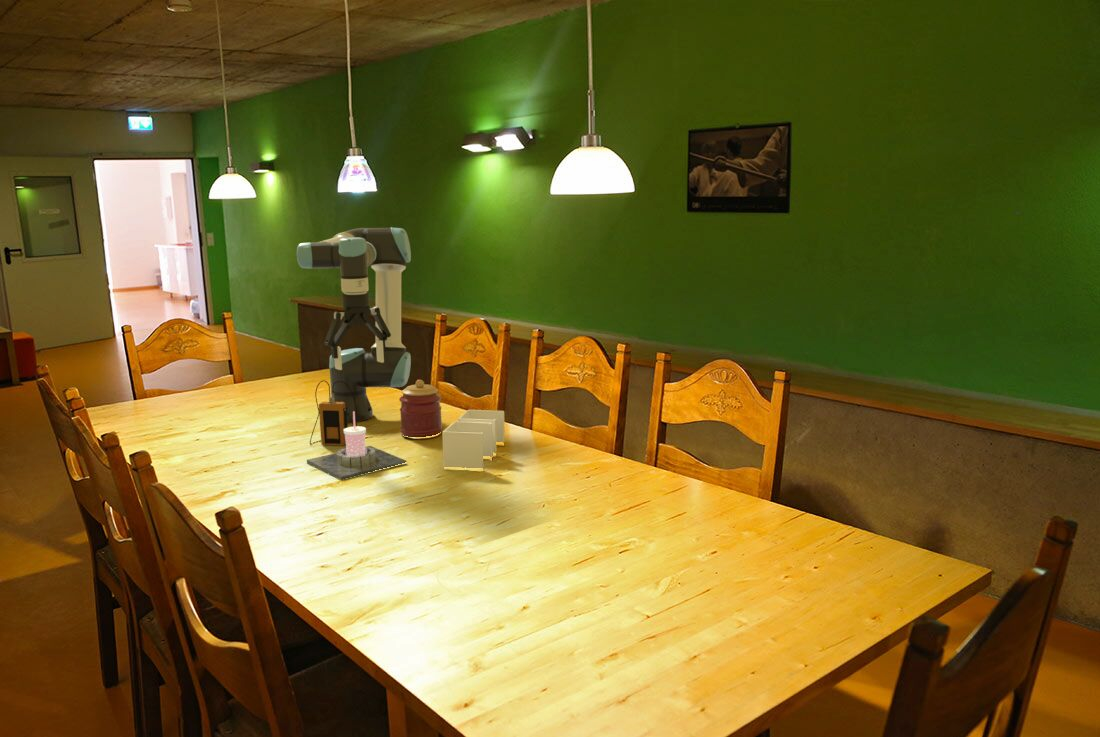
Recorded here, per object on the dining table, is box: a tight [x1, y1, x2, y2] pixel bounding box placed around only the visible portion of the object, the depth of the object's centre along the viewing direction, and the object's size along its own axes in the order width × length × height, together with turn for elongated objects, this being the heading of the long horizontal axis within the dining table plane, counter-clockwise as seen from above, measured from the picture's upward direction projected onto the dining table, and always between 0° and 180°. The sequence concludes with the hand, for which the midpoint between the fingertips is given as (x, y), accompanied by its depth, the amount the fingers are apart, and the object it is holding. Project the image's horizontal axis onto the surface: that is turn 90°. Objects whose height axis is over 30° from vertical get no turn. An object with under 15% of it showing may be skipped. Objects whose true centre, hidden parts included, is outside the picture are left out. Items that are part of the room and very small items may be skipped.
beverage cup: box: [343, 411, 367, 456], centre depth 229 cm, size 6×6×14 cm
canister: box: [399, 379, 443, 437], centre depth 258 cm, size 13×13×18 cm
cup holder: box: [306, 445, 407, 481], centre depth 230 cm, size 20×20×4 cm
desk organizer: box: [441, 409, 506, 468], centre depth 234 cm, size 25×11×11 cm, turn 169°
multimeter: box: [309, 380, 358, 447], centre depth 250 cm, size 15×10×20 cm
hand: (359, 365), depth 239 cm, fingers open, 13 cm apart
